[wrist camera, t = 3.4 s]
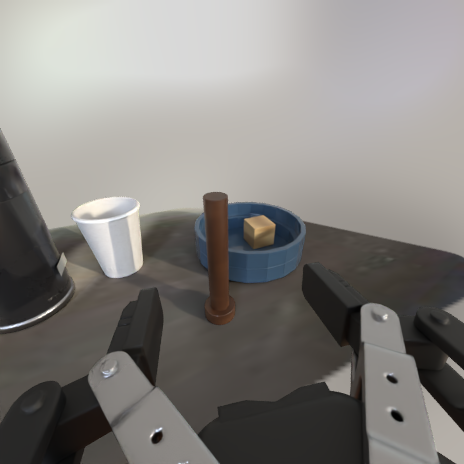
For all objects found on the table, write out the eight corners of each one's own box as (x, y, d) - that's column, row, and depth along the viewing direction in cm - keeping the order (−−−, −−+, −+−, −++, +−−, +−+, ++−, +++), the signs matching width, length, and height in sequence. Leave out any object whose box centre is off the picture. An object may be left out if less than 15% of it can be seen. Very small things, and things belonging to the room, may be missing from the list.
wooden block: (253, 249, 38) (254, 228, 36) (243, 238, 41) (243, 218, 39) (273, 244, 40) (275, 224, 38) (262, 233, 43) (263, 214, 41)
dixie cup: (142, 283, 32) (126, 220, 27) (82, 285, 32) (54, 221, 27) (157, 250, 39) (146, 195, 34) (108, 251, 39) (90, 196, 34)
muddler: (204, 325, 26) (193, 204, 18) (206, 301, 29) (196, 189, 22) (235, 324, 26) (237, 203, 19) (234, 300, 29) (234, 188, 22)
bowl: (193, 288, 31) (189, 256, 28) (201, 228, 46) (198, 203, 43) (316, 283, 32) (324, 251, 29) (284, 225, 47) (287, 201, 44)
